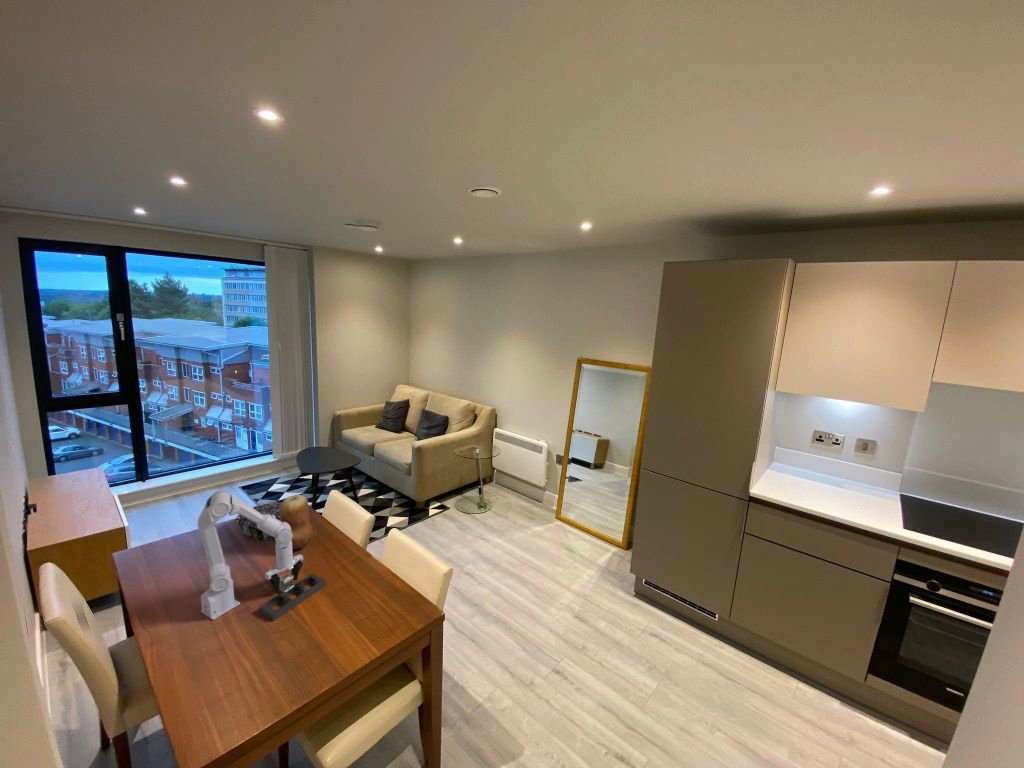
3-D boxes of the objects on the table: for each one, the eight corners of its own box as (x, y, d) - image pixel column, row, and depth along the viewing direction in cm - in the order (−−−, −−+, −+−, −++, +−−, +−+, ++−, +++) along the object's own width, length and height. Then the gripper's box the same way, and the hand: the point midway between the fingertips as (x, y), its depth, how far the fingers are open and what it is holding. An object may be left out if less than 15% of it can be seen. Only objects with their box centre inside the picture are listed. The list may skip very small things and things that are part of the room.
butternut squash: (273, 551, 186) (270, 500, 181) (296, 536, 198) (294, 488, 194) (297, 558, 182) (295, 506, 177) (320, 542, 195) (318, 493, 190)
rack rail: (273, 621, 147) (273, 614, 146) (259, 612, 150) (259, 606, 150) (326, 585, 166) (325, 580, 166) (312, 578, 170) (312, 573, 169)
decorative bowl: (271, 552, 188) (272, 533, 186) (221, 538, 193) (221, 519, 191) (309, 524, 213) (310, 507, 211) (264, 512, 218) (264, 495, 216)
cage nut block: (284, 593, 161) (283, 581, 160) (278, 589, 163) (277, 578, 162) (293, 587, 164) (293, 575, 163) (287, 583, 166) (286, 572, 165)
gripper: (272, 567, 153) (274, 599, 155) (307, 548, 165) (308, 578, 168) (261, 561, 156) (263, 592, 158) (296, 542, 168) (297, 572, 171)
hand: (285, 584), depth 163 cm, fingers open, 7 cm apart
